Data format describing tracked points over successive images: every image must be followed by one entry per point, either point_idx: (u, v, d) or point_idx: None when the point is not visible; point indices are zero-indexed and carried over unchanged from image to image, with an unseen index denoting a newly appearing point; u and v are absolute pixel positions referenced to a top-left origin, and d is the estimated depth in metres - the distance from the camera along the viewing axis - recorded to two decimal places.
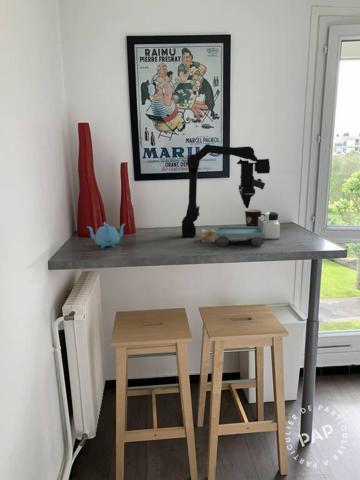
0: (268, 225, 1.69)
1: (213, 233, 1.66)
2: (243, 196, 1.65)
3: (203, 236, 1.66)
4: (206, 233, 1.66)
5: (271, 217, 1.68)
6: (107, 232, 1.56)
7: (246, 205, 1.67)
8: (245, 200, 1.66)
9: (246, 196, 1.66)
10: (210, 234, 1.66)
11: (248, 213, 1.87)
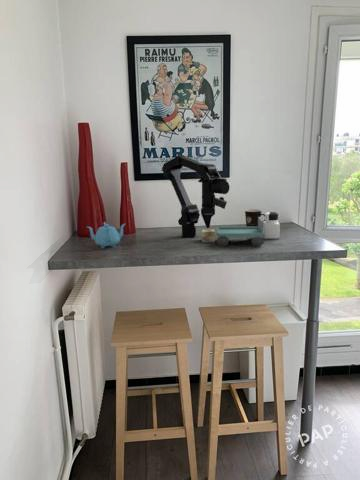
0: (268, 225, 1.69)
1: (213, 233, 1.66)
2: (203, 216, 1.60)
3: (203, 236, 1.66)
4: (206, 233, 1.66)
5: (271, 217, 1.68)
6: (107, 232, 1.56)
7: (207, 225, 1.62)
8: (205, 220, 1.61)
9: (206, 216, 1.61)
10: (210, 234, 1.66)
11: (248, 213, 1.87)
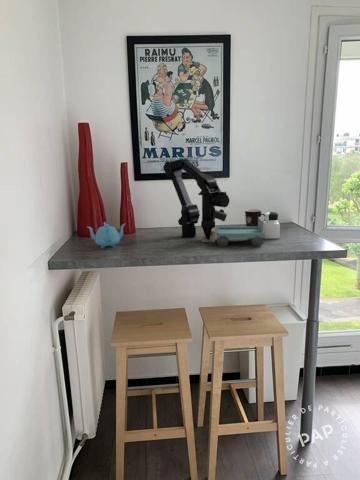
0: (268, 225, 1.69)
1: (213, 233, 1.66)
2: (203, 228, 1.63)
3: (203, 236, 1.66)
4: None
5: (271, 217, 1.68)
6: (107, 232, 1.56)
7: (207, 236, 1.65)
8: (206, 232, 1.64)
9: (207, 228, 1.64)
10: None
11: (248, 213, 1.87)
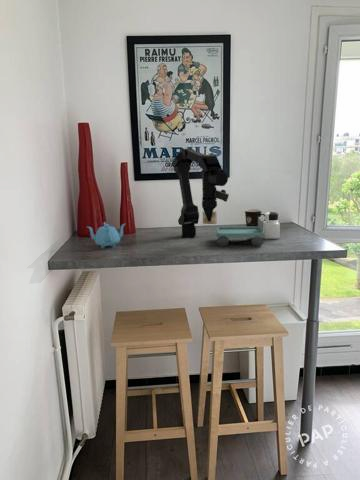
0: (268, 225, 1.69)
1: (215, 214, 1.56)
2: (204, 208, 1.53)
3: (204, 217, 1.56)
4: None
5: (271, 217, 1.68)
6: (107, 232, 1.56)
7: (208, 218, 1.56)
8: (207, 213, 1.54)
9: (208, 208, 1.54)
10: None
11: (248, 213, 1.87)
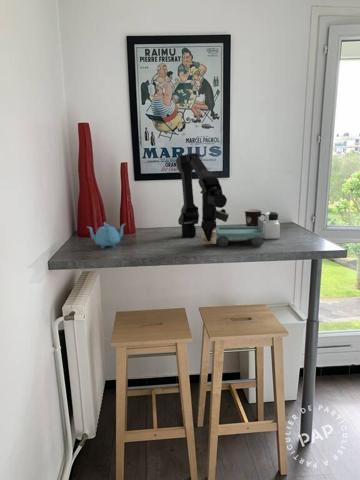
0: (268, 225, 1.69)
1: (214, 234, 1.55)
2: (204, 229, 1.53)
3: (203, 237, 1.56)
4: None
5: (271, 217, 1.68)
6: (107, 232, 1.56)
7: (208, 238, 1.55)
8: (206, 233, 1.54)
9: (207, 229, 1.54)
10: (211, 235, 1.56)
11: (248, 213, 1.87)
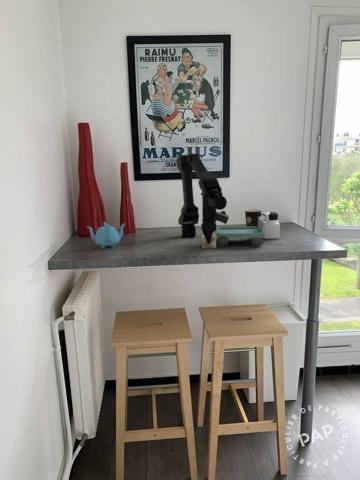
0: (268, 225, 1.69)
1: (214, 238, 1.56)
2: (204, 231, 1.52)
3: (203, 241, 1.57)
4: None
5: (271, 217, 1.68)
6: (107, 232, 1.56)
7: (208, 241, 1.54)
8: (206, 236, 1.53)
9: (207, 231, 1.52)
10: (211, 239, 1.56)
11: (248, 213, 1.87)
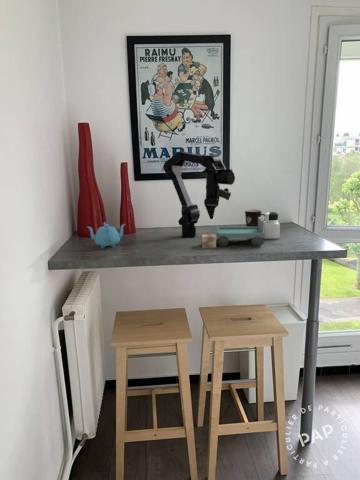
0: (268, 225, 1.69)
1: (214, 238, 1.56)
2: (207, 207, 1.59)
3: (203, 241, 1.57)
4: (207, 238, 1.56)
5: (271, 217, 1.68)
6: (107, 232, 1.56)
7: (210, 216, 1.61)
8: (209, 211, 1.60)
9: (210, 207, 1.60)
10: (211, 239, 1.56)
11: (248, 213, 1.87)
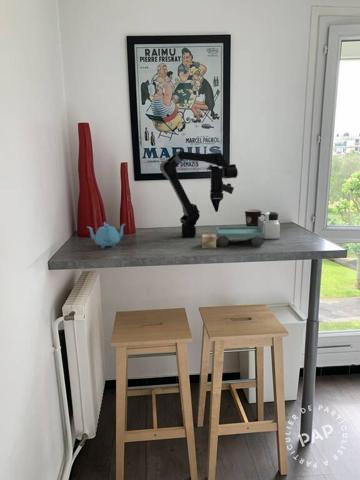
0: (268, 225, 1.69)
1: (214, 238, 1.56)
2: (212, 200, 1.73)
3: (203, 241, 1.57)
4: (207, 238, 1.56)
5: (271, 217, 1.68)
6: (107, 232, 1.56)
7: (215, 209, 1.75)
8: (214, 204, 1.74)
9: (215, 200, 1.73)
10: (211, 239, 1.56)
11: (248, 213, 1.87)
